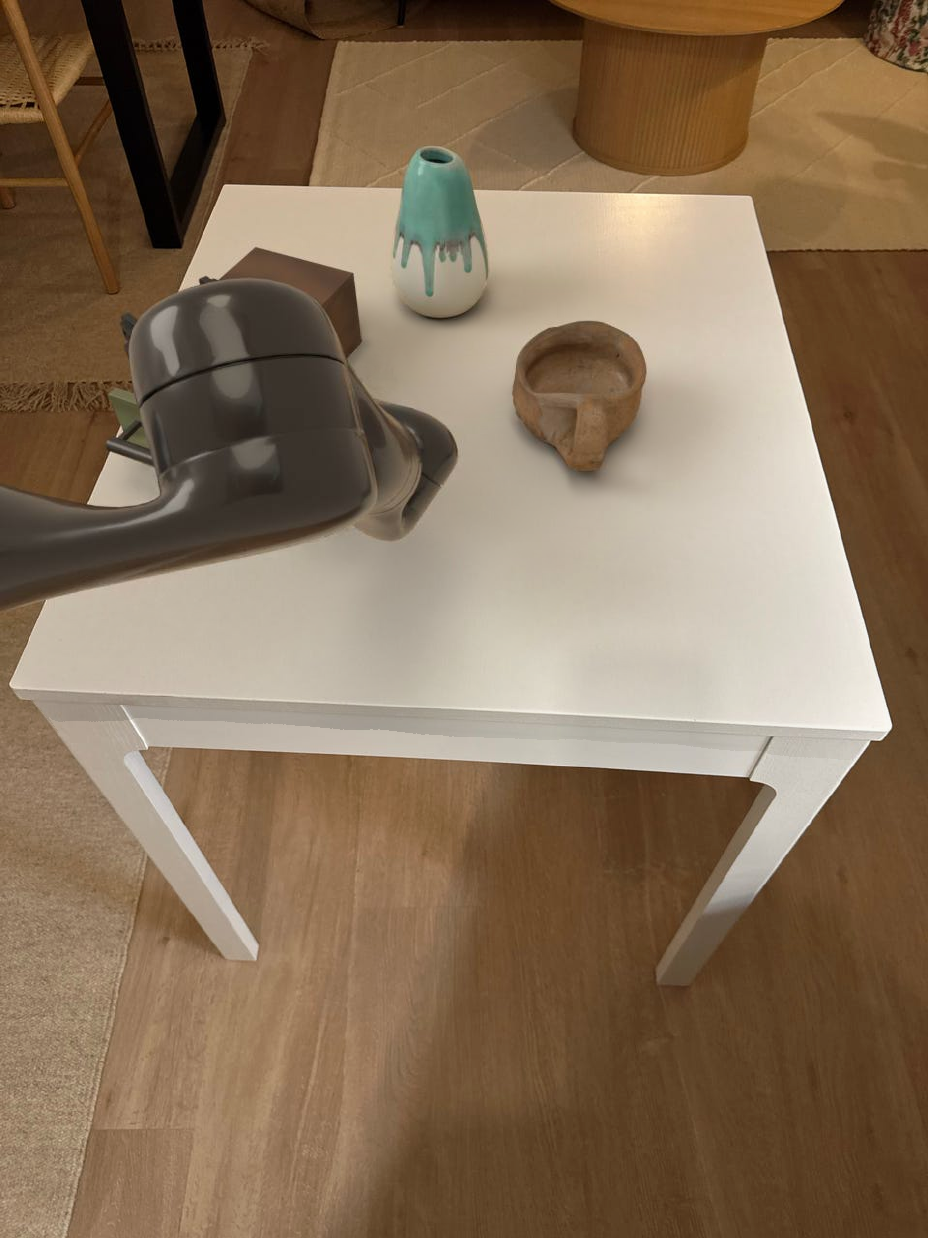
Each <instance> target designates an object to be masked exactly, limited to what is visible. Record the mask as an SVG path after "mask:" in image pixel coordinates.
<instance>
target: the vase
mask: <svg viewBox="0 0 928 1238" xmlns="http://www.w3.org/2000/svg"><path fill="white" fill-rule="evenodd" d="M401 187H402V188H401V194H400V201H399V207H398V212H397V216H396V221H395V226H394V230H393V235H392V242H391V250H390V273H391V278H392V283H393V285H394V288H395V290H396V292H397V295H398V297H400V299H401V301H402V302H403V303H404V304H405V305H406V306H407V307H408V308H409V309H411V310H412V311H414V312H415V313H417V314H419V315H421V316H425V317H429V318H435V319H446V318H453V317H456V316H459V315H461V314H463V313H466V312H467V311H469V310H470V309H472V307H474V306H475V305H476V304H477V302H478V301H479V300H480V299H481V297H482V295H483V294H484V292H485V290H486V288H487V284H488V281H489V276H490V254H489V249H488V241H487V238H486V232H485V228H484V225H483V221H482V218H481V215H480V211H479V207H478V204H477V200H476V195H475V190H474V187H473V182H472V178H471V175H470V173H469V170H468V167H467V165H466V163H465V162H464V161H463V159H462V157H461V156H460V155H458V154H457V153H456V152H454V151H453V150H450V149H448V148H447V147H443V146H438V145H426V146H423V147H420V148H418V149H417V150H416V151H415V153H414V154H413V155H412V157H411V159H410V160H409V163H408V165H407V168H406V170H405V173H404V178H403V182H402V186H401Z"/></svg>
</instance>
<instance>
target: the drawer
mask: <svg viewBox="0 0 928 1238" xmlns="http://www.w3.org/2000/svg"><path fill="white" fill-rule="evenodd" d="M108 398H109V400H110V402H111V405H112V407H113V410H114V412H115V415H116V417H117V420H118V422H119V424H120V427H121V429H122V432H121V433H120V434H119V435H118V436H114V435H113V436H110V437H109V438H108V439H107V440H106V442H105V448H106V450H107V451H108V452H111V453H113V454H116V455H118V456H122V457H124V458H127V459H130V460H132V461H136V462H138V463H141V464H144V465H146V466H150V467H152V468H155V467H154V464H153V460H152V456H151V452H150V449H149V445H148V441H147V437H146V434H145V430H144V426H143V423H142V419H141V415H140V412H139V409H138V406H137V403H136V398H135V394H134V392H131V391H128V390H125V389H123V388H119V387H115V388H113V389H112V390H111V391H110V392H109V393H108Z"/></svg>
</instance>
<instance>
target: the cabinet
mask: <svg viewBox="0 0 928 1238" xmlns="http://www.w3.org/2000/svg"><path fill="white" fill-rule="evenodd" d="M236 278H258V279H269V280H273V281H277V282H281V283H285V284H289V285H291V286H293V287H295V288H298V289H300V290H302V291H304V292H306V293H307V294H309V295H310V296H312V297H313V298H314V299H315V300H316V301H317V302H318V303H319V304H320V305H321V306H322V308H323V309H324V310H325V312H326V314H327V315H328V317H329V319H330V321H331V323H332V325H333V327H334V329H335V331H336V333H337V336H338V338H339V340H340V343H341V345H342V348H343V351H344V354H345V358H346V359H348V357H350V355H351V354H352V353H353V352H354V351H355V350H356V349H357V348H358V346H359V345H360V344H361V343H362V342H363V339H362V332H361V323H360V315H359V307H358V299H357V298H358V297H357V289H356V282H355V273H354V272H352V271H347V270H343V269H341V268H336V267H332V266H329V265H325V264H322V263H318V262H315V261H311V260H306V259H302V258H299V257H295V256H291V255H287V254H283V253H280V252H277V251H272V250H268V249H264V248H261V247H257V246H255V247H253V248H252V249H251V250H250V251H249V252H248V253H247V254H246V255H244V256H243V258H241V259H240V260H239V261H238V262H237V263H235V264H234V265H233V266H232V267H231V268H230V269H229V270H227V272H225V273H224V274H223V275H222V276H221V277H220V278H218V280H225V279H236Z"/></svg>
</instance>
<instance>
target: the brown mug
mask: <svg viewBox="0 0 928 1238" xmlns="http://www.w3.org/2000/svg"><path fill="white" fill-rule="evenodd" d="M514 373H515V374H514V380H513V384H512V390H511V392H512V393H511V395H512V402H513V407H514V410H515V414H516V415H517V417H518V418H519V420H520V421H521V422H522V423H523V424H524V426H525V428H526V429H527V430H529V431H531V433H532V434H533V435H534V436H535V437H537V438H539V440H540V441H542V442H544V443H547V444H550V445H552V447H555V448H556V450H557V452H558V453H559V454H560V455H561V457H562V459H563V461H564V462H565V464H566V465H567V466H568V468H570V469H571V470H574V471H578V472H579V471H580V472H592V471H596V470H598V469H600V468H601V467H602V466H603V463H604V460H605V457H606V454H607V448H608V447H609V446H610V444H611V443H613V442H615V441H616V440H617V438H618V437H620V436H621V435H622V434H623V433H624V432H625V431H626V430H627V429H628V428H630V427H631V425H632V423H633V422H634V421H635V419H636V418H637V414H638V412H639V410H640V407H641V404H642V393H643V388H644V385H645V383H646V379H647V362H646V360H645V356H644V353H643V350H642V348H641V347H640V345H639V343H638V341H636V340H635V339H634V337H632V336H630V334H628V333H627V332H625V331H623V330H621V329H619V328H618V327H615V326H613V325H610V324H608V323H605V321H599V320H577V321H573V322H569V323H566V324H562V325H558V326H551V327H547V328H545V329H543V330H542V331H540V332H538V333H537V334H535V335H534V336H533V337H531V339H530V340H529V341H527V342H526V343H525V345H524V346H522V348H521V350H520V352H519V353H518V355H517V358H516V364H515V372H514Z"/></svg>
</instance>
